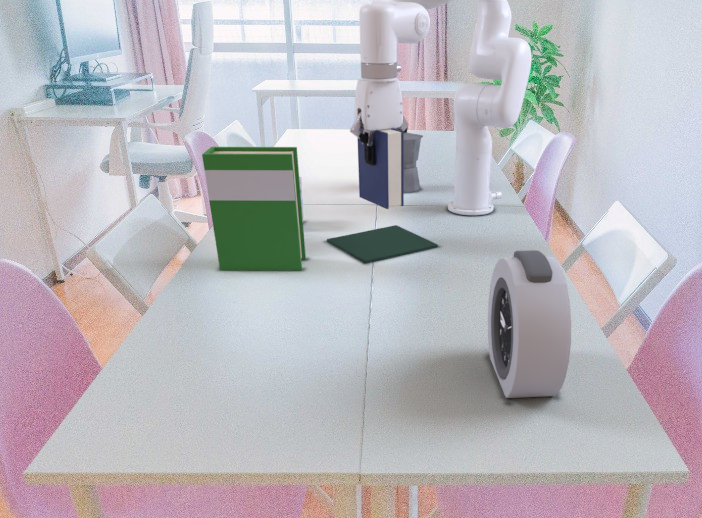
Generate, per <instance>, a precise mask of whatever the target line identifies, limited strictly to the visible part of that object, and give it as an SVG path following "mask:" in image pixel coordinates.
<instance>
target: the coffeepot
mask: <svg viewBox="0 0 702 518" xmlns="http://www.w3.org/2000/svg"><path fill="white" fill-rule="evenodd" d="M408 129H409V126H408V127H407V128H406V129H405V131H404V193H405V194H408V193H415V192H418V191H419V190H420V189H421V184H420V178H419V170H418V166H417V161H419V154H420V147H421V143H422V138H424V135H422V134H418V133H412V132H408Z"/></svg>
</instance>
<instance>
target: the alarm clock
mask: <svg viewBox="0 0 702 518" xmlns="http://www.w3.org/2000/svg"><path fill="white" fill-rule="evenodd" d="M565 277H566V276H565V273H564V270H563V268H562V266H561V265H560V262H559V260H557V259H555V258H554V257H553V256H546V255H545V254H544V253H543V252H541V251H539V250H534V249H533V250H515V251H514V252H513V257H511V256H510V257H501V258H499V259H498V260H497V262H496V263H495V265H494V268H493V271H492V275H491V280H490V284H489V293H488V302H487V303H488V305H487V307H488V308H487V340H488V353H489V354H488V355H489V359H490V362H491V364H492V367H493V369H494V372H495V374H496V377H497V380H498V381H499V385H500V387H501V389H502V392H503V394H504V397H505V398H506V399H519V398H542V397H543V398H544V397H546V398H547V397H555V396H557V394H558V393H559V392H560V391H561V390H562V388H563V386H564V383H565V379H566V377H567V373H568V369H569V363H570V356H571V348H572V347H571V346H572V313H571V301H570V295H569V290H568V289H569V288H568V284H567V280H566V278H565Z"/></svg>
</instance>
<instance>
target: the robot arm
mask: <svg viewBox="0 0 702 518" xmlns="http://www.w3.org/2000/svg"><path fill="white" fill-rule="evenodd" d="M450 2H452V0H372V2H371V3H365V4H363V5H362V6H361V7H360V8H359V18H358V19H359V42H360V43H359V49H360V52H359V53H360V79H357V82H356V87H355V96H354V114H353V115H354V118H353V119H354V121H353V123H352V125H351V127H350V129H349V132H350V134H352V135H354V136H355V137H356V138H358V139H359V140H360V141H361V142H362V144H364V156H365V161H366V163H367V164H370V165H375V146H373V140H374V131H376V130H388V129H391V128H394V129H398V130H402V131H405V129H406V128H407V127H408V128H409V123H408V120H407V119H406V118H405V116H404V105H403V104H404V103H403V94H402V87H401V82H400V79H399V78H398V73H399V72H400V73H401V71H402V67H401V65H400V64H398V44H417V43H420V42H421V41H423V40H424V39H425V38H426V37H427V35H428V34H429V32H430V29H431V18H430V17H431V16H430V14H429V12H428V10H432V9H436V8H439V7H441V6H443V5H446V4H449V3H450ZM475 3H476V4H475V5H476V8H477V10H476V11H477V12H476V14H477V15H476V21H475V27H474V30H473V36H472V42H471V45H470V51H469V56H468V71H469V72H470V74H471V75H472V76H474V77H476V78H479V79H485V80H494V81H501V84H500V85H498V84H497V85H496V84H491V83H490V84H489V83H476V82H470V83H466V84H465V83H464V84H463V85H462V86H460V87H459V88H458V89H457V90H456V92H455V94H454V96H453V97H454V98H453V114H454V120H455V158H454V159H455V160H454V182H453V183H454V184H453V200H452V201H450V202H449V203H448V204H447V210H448V211H450V213H453V214H457V215H463V216H482V215H483V216H484V215H487V214H490V213H492V212H493V211H494V207H495V206H494V204H493V203H492V202H493V201H494V200H499V199H502V197H503V194H502V192H501V191H495V192H493V191H491V190H490V185H491V184H490V183H491V182H490V181H491V169H492V168H491V167H492V152H493V138H492V135H491V133H490V130H489V128H488V127H491V128H497V129H498V128H499V129H508V128H512V127H513V126H514V125H515V124H516V123H517V121H518V119H519V118H520V114H521V111H522V108H523V107H522V106H523V103H524V99H525V95H526V90H527V86H528V83H529V77H530V73H531V67H532V59H533V58H532V57H533V56H532V49H531V46H530V44H529V43H528V41H527V40H525V39H523V38H520V37H512V36H509V35H510V30H511V24H512V19H513V18H512V17H513V16H512V9H511V6H510V4H509V2H508V0H475ZM360 129H364V130H363V133H362V132H361V131H360ZM358 139H357V140H358Z"/></svg>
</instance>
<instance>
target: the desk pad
mask: <svg viewBox="0 0 702 518" xmlns="http://www.w3.org/2000/svg"><path fill="white" fill-rule="evenodd" d="M326 242H327V243H329V244H331V245H332V246H334V247H336V248H337V249H339V250H341V251H343V252H345V253H346V254H348V255H350V256H352V257H353V258H355V259H357V260H358V261H361V262H362V263H364V264H368V263H373V262H374V263H375V262H378V261H383V260H387V259H390V258H395V257H396V258H397V257H400V256H403V255H408V254H413V253H417V252H422V251H426V250H430V249H431V250H432V249H435V248H438V246H439V244H437V243H436V242H433V241H431V240H429V239H427V238H425V237H422V236H421V235H418V234H416V233H415V232H412V231H409V230H407V229H405V228H403V227H401V226H399V225H396V224H395V225H390V226H385V227H384V226H383V227H380V228H375V229H371V230H366V231H365V230H364V231H360V232H356V233H350V234H346V235H341V236H335V237H330V238H327V239H326Z"/></svg>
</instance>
